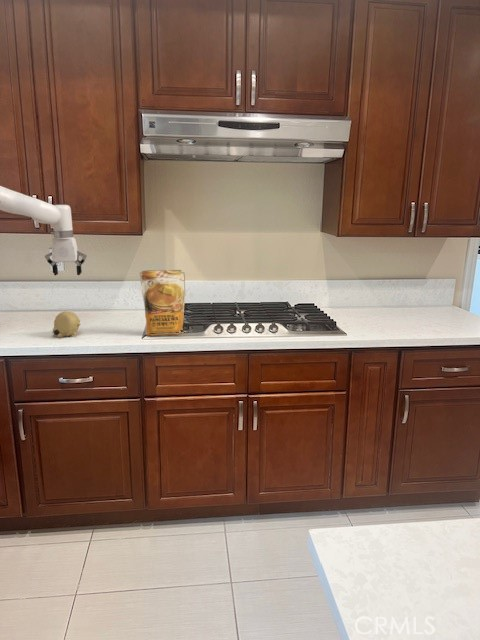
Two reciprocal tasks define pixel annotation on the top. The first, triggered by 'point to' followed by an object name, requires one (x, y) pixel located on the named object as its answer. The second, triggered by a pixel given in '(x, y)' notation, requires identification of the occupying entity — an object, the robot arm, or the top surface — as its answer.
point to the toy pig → (66, 324)
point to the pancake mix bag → (163, 301)
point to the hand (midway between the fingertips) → (67, 274)
